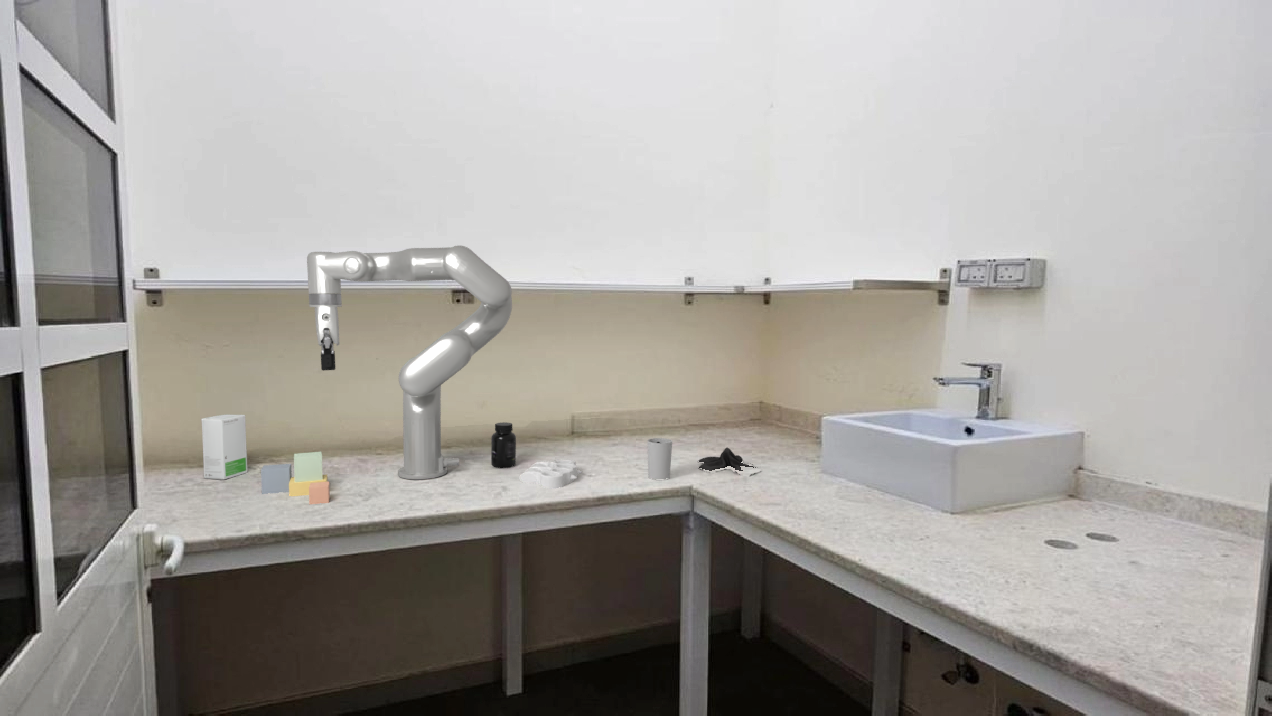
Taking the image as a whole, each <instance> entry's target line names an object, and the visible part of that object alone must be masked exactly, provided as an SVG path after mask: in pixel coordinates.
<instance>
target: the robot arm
mask: <svg viewBox="0 0 1272 716" xmlns="http://www.w3.org/2000/svg"><path fill="white" fill-rule="evenodd" d="M306 265H307V266H306V268H307V285H308V286H307V287H308V289H307V290H308V307H309V308H314V318H315V319H314V321H315V322H314V323H315V332H316V338H317V345H318V346H319V347H321V352H320V367H321V371H335V370H336V354H335V347H334V346H335V345H334V344H336V346H337V347H338V346H339V345H340V325H339V324H340V323H339V322H340V321H339V310H338V307H339V308H340V307H341V308H342V306H343V305H342V283H341V282H342V281H341V280H343V281H351V282H379V281H380V282H386V281H389V282H390V281H403V282H425V281H427V282H429V281H455V282H457V284H459V285H460V286H461V287H462V288H464V289H465V290H466V291H467V292H468V293H470V294H471V295H472V296H474V297H475V298H476V299H477V300H478V301H479V302H480V304H479V306H478V308H477V309H476V310H475V311H474V312H473V313H471V314H470V315H469V316H468V317H467V318H466V319H464V320H463V321H462V322H460V323H459V324H458V325H456V326H455V327H454V328H452V329H451V330H449V331H447V332H445V333H443V334H441V336H440V337H438V339H436V340H435V341H433V342H432V343H431V344H430V345H428V346H426V348H424V349H423V350H421V352H419V353H418V354H416V356H414V357H411V358H409V360H407V361H406V362H405V364H404V365H402V367H401V368H400V370H399V374H398V385H399V386H400V388H401V390H402V391H403V392H402V394H403V397H402V415H403V416H402V422H403V423H402V425H403V426H402V428H403V441H402V442H403V466H402V467H400V468H399V469H398V470H397V476H398V477H400V478H401V479H407V480H427V479H428V480H429V479H435V478H439V477H441V476H444V475H446V474H447V473H448V468H447V467H448V466H459V465H460V459H459V457H455V458H454V457H444V456H443V454H442V437H441V435H442V434H441V432H442V431H441V430H442V426H441V422H442V421H441V415H442V411H441V410H442V409H441V408H442V403H441V402H442V400H441V398H442V385H443V384H444V383H445V382H448V380H450V378H452V377H453V376H454V375H456V374H458V372H459V371H462V369H463V368H464V367H465V366H467V365H468V363H469V362H470V361H471V359H472V357H473V356H474V355H475V354H476V353H477V352H479V351H480V350H481V349H482V348H483V347H485V346H486V345H487V344H488V343H489V342H491V341H492V340H494V338H495V337H496V336H498V334H500V333H501V331H503V329H504V328H506V325H507V324H508V322H509V319H510V317H511V315H512V314H511V313H512V309H513V297H512V296H513V295H512V293H513V290H512V286H511V284H510V283H509V281H508V280H507V279H506V278H505V277H504V276H502V274H500V273H499V272H497V270H495V269H494V268H493V267H492V266H491V265H489V264H488V263H486V262H485V261H484V260H483V259H482V258H481V257H480V256H478V255H477V253H475V252H474V251H473V250H472V249H471V248H469V247H468V246H464V245H454V246H452V247H449V246H448V247H411V248H405V249H402V250H399V251H391V252H360V251H357V250H350V251H349V250H347V251H341V252H332V251H312V252H309V253H308V254H307V257H306Z"/></svg>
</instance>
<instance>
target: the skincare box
mask: <svg viewBox="0 0 1272 716" xmlns="http://www.w3.org/2000/svg"><path fill="white" fill-rule="evenodd" d="M246 426H247V425H246V415H245V414H220V415H214V416H207V417H204V418H201V431H202V432H201V434H202V435H201V437H202V439H201V440H202V453H203V454H202V456H203V457H202V458H203V479H207V480H227V479H230V478H234V477H237V476H240V475H241V476H242V475H243V474H247V473H248V455H247V452H248V451H247V428H246Z"/></svg>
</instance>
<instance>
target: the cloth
mask: <svg viewBox="0 0 1272 716" xmlns="http://www.w3.org/2000/svg"><path fill="white" fill-rule="evenodd" d="M698 461H699V462H704V464H703V463H701V465H699V466H698V467H699V468H702V469H705V470H709V471H712V470H715V469H720V468H725V467H727V466H731V467H733V468H735V470H739V471H743V470H741V467H740V466H745V467H753V468H754V467H755V468H756V467H757V466H754V465H753V466H749V465H747V464H745V463H744V460H743V458H742V456H740V455H739V454H738V455H736V454H735V453H734V452H733V451H732V450H731V448H729V447H726V448H724V450H723V451H722V452H721V453H720V455H719V456H706V457H703V458H699V460H698ZM742 461H743V463H744V464H743V463H741V462H742ZM699 462H698V463H699ZM699 468H698V469H699Z"/></svg>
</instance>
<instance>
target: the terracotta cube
mask: <svg viewBox="0 0 1272 716" xmlns="http://www.w3.org/2000/svg"><path fill="white" fill-rule="evenodd" d="M330 491H331V489H330V481H328V482H316V483H310V486H309V495H308V499H309V500H308V501H309V502H308V504H309V505H317V504H319V505H320V503H321V504H329V503H330V499H331V495H330V493H331V492H330Z"/></svg>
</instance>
